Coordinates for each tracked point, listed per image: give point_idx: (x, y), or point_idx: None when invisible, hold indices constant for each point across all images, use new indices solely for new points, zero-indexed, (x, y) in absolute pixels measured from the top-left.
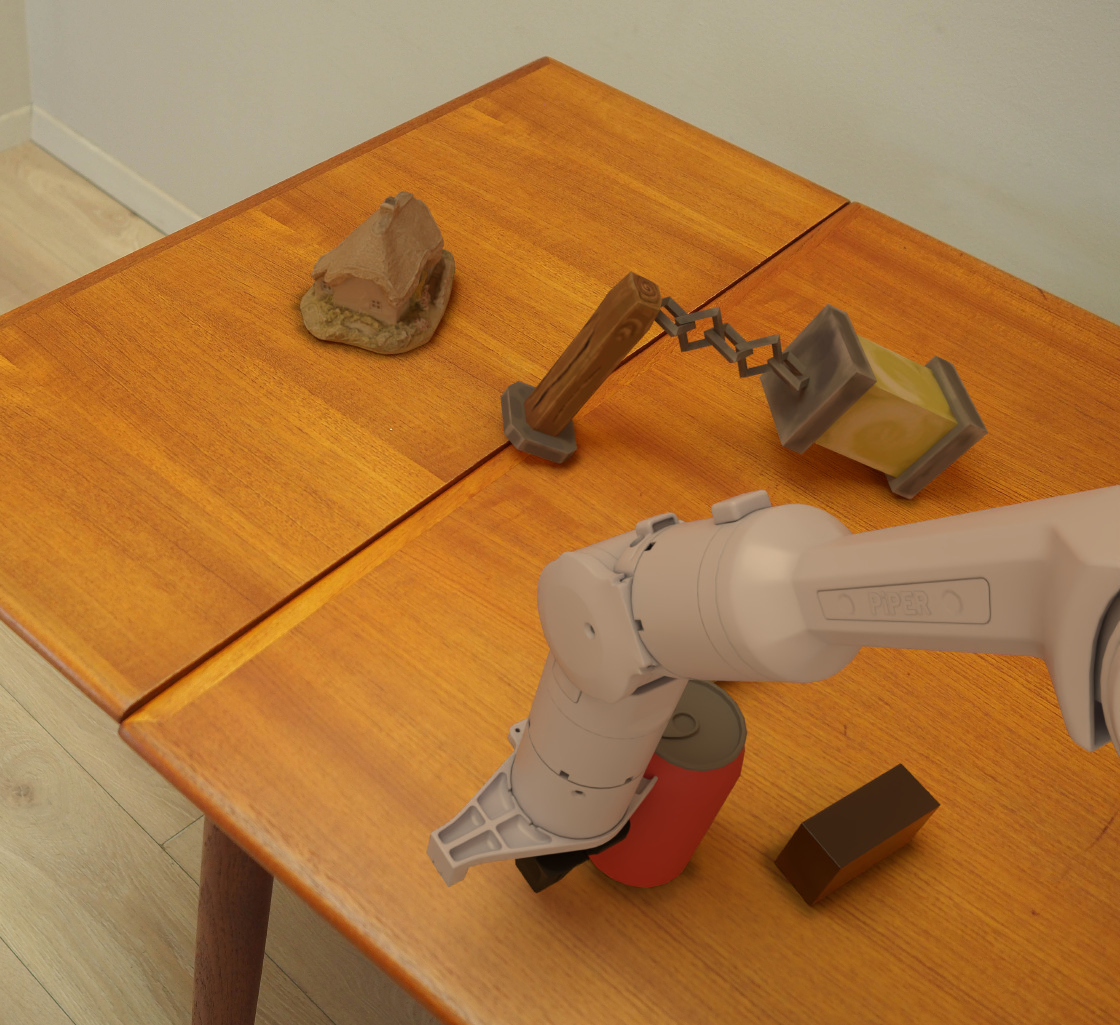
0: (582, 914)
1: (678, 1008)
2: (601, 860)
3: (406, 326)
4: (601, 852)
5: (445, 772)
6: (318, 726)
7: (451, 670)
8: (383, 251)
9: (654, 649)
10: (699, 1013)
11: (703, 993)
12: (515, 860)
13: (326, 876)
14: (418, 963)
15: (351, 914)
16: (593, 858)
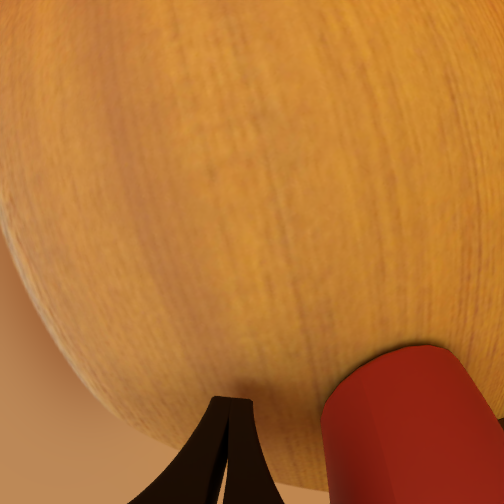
0: (268, 427)
1: (280, 481)
2: (322, 436)
3: None
4: (324, 447)
5: (230, 172)
6: (96, 8)
7: (378, 7)
8: None
9: None
10: (291, 485)
11: (306, 481)
12: (210, 402)
13: (16, 236)
14: (78, 367)
15: (29, 290)
16: (322, 420)
